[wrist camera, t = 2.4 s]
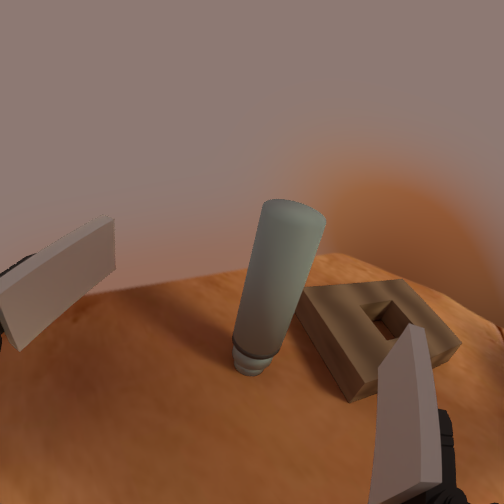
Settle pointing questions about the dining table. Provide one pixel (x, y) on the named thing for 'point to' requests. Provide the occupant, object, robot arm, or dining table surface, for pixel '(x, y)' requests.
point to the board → (367, 329)
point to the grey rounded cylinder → (274, 281)
